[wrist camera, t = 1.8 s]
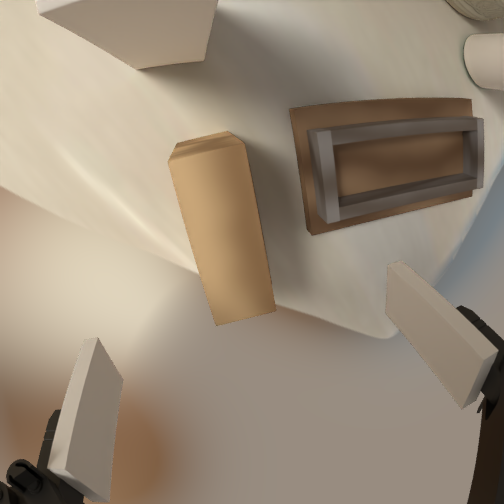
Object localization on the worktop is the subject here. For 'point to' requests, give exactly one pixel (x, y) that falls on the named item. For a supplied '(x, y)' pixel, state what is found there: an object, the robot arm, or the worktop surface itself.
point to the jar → (479, 8)
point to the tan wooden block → (223, 225)
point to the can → (485, 59)
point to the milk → (138, 27)
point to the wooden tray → (385, 157)
